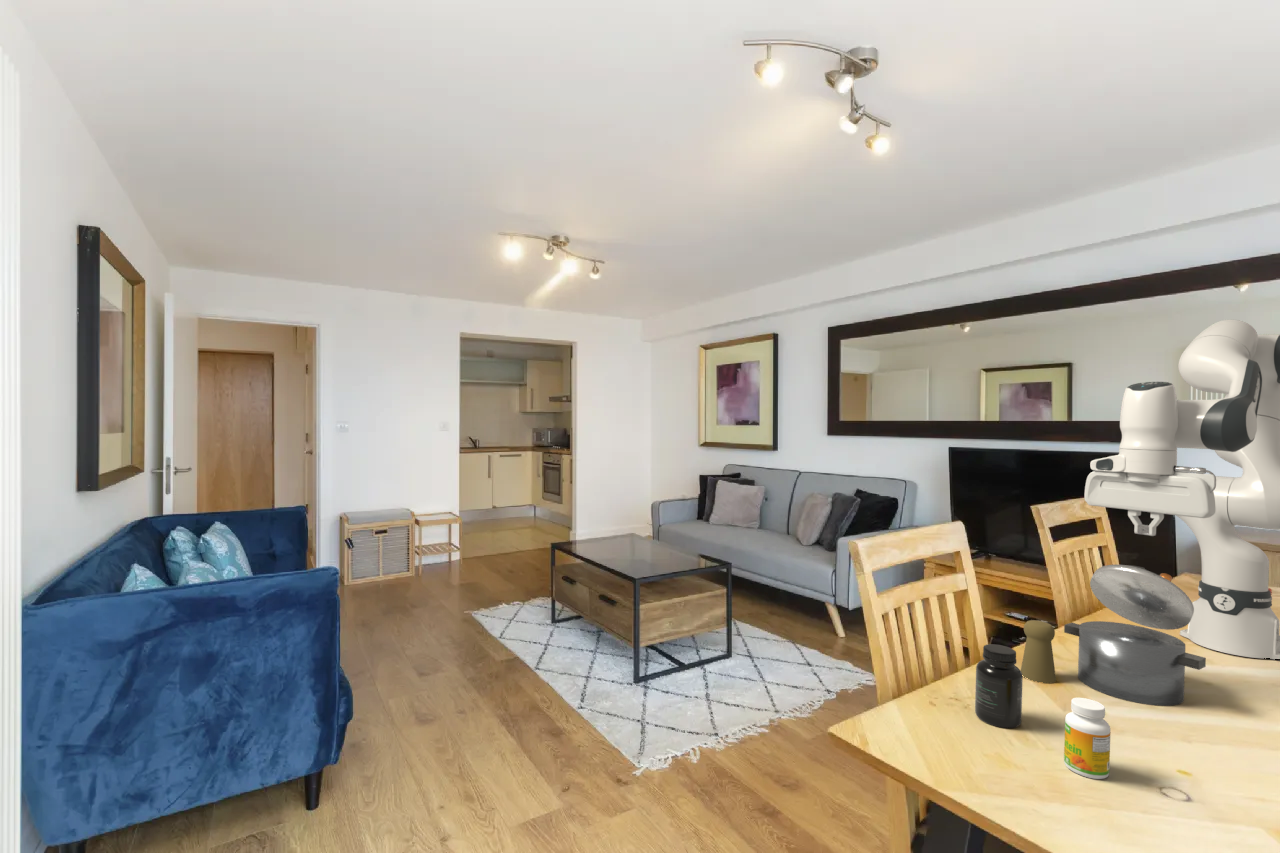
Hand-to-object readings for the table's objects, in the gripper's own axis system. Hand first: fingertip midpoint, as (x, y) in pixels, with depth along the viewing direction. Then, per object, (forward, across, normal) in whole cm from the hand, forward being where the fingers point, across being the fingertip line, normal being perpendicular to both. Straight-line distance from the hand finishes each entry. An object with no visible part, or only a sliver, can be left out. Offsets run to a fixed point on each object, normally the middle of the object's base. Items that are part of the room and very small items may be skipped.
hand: (1145, 534), depth 122 cm
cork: (+29, +11, +16) cm, 35 cm away
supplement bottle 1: (+29, +5, +41) cm, 51 cm away
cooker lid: (+13, 0, +2) cm, 13 cm away
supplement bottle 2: (+29, -10, +45) cm, 55 cm away
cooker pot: (+29, 0, +5) cm, 29 cm away
